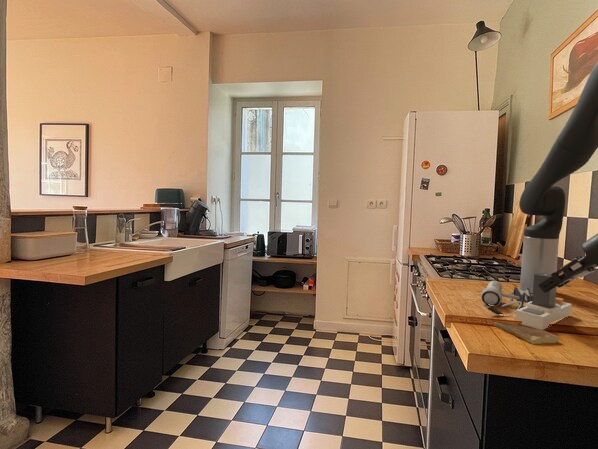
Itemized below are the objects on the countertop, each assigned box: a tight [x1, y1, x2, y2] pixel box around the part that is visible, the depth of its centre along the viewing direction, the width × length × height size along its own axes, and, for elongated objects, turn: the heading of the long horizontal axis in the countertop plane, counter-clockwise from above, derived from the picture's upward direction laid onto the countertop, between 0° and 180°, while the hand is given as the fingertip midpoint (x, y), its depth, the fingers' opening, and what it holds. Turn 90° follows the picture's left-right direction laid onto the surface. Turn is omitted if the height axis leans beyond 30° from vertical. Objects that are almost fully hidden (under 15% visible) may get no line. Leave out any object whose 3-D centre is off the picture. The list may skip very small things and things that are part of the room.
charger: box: [532, 273, 558, 308], centre depth 86 cm, size 4×4×8 cm
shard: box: [492, 320, 560, 345], centre depth 78 cm, size 11×8×2 cm
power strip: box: [514, 296, 573, 331], centre depth 88 cm, size 21×6×4 cm, turn 127°
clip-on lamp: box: [480, 280, 533, 316], centre depth 95 cm, size 12×6×18 cm
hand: (548, 286), depth 86 cm, fingers open, 8 cm apart
